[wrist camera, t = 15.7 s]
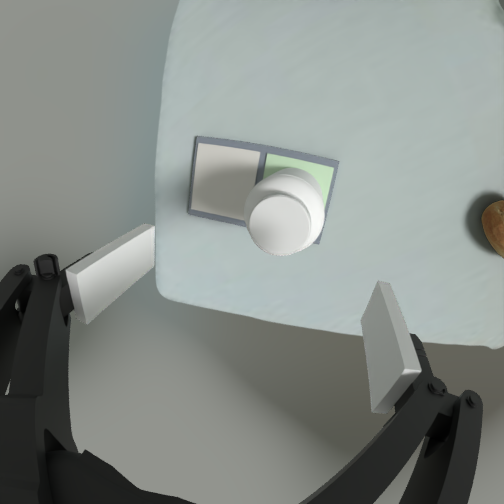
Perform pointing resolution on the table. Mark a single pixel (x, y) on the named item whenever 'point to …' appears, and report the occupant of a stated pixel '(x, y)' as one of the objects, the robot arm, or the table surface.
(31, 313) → the robot arm
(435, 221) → the table surface
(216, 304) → the table surface
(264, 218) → the pill bottle
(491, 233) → the bread roll
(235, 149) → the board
